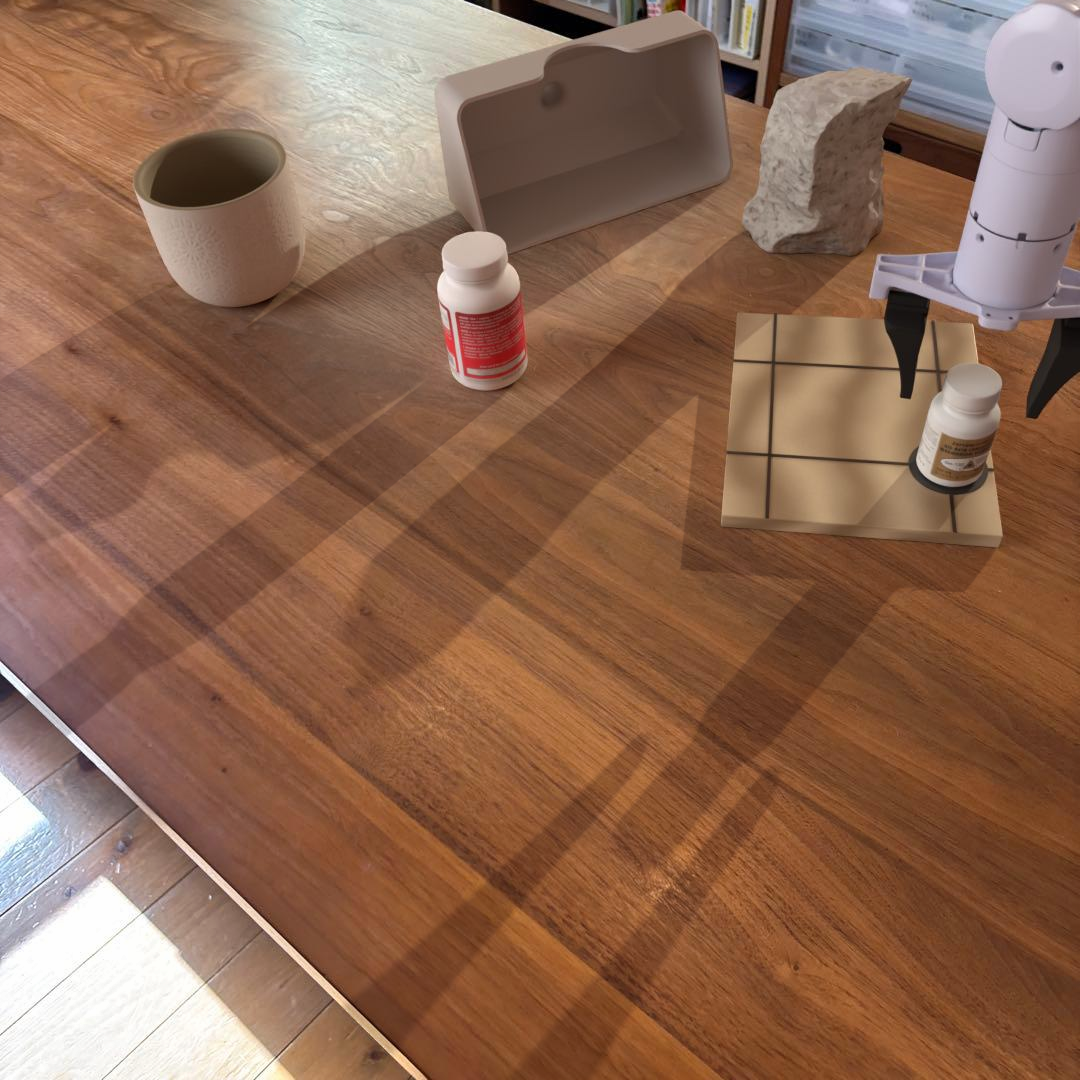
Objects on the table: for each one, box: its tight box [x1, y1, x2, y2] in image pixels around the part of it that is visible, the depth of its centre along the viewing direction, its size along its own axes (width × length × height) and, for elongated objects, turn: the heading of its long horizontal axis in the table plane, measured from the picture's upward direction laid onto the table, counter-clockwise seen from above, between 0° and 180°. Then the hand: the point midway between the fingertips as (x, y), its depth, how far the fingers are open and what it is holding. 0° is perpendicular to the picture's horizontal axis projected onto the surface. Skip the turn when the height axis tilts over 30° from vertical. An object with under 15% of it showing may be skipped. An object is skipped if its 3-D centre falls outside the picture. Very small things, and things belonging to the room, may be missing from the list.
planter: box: [132, 128, 306, 308], centre depth 94 cm, size 12×12×11 cm
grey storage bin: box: [433, 10, 734, 255], centre depth 101 cm, size 25×16×12 cm, turn 115°
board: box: [720, 312, 1004, 549], centre depth 80 cm, size 18×22×1 cm
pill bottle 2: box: [916, 362, 1003, 487], centre depth 73 cm, size 4×4×8 cm
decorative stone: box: [741, 66, 913, 257], centre depth 91 cm, size 10×9×15 cm
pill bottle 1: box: [436, 231, 528, 392], centre depth 84 cm, size 6×6×11 cm
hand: (968, 398), depth 71 cm, fingers open, 7 cm apart
